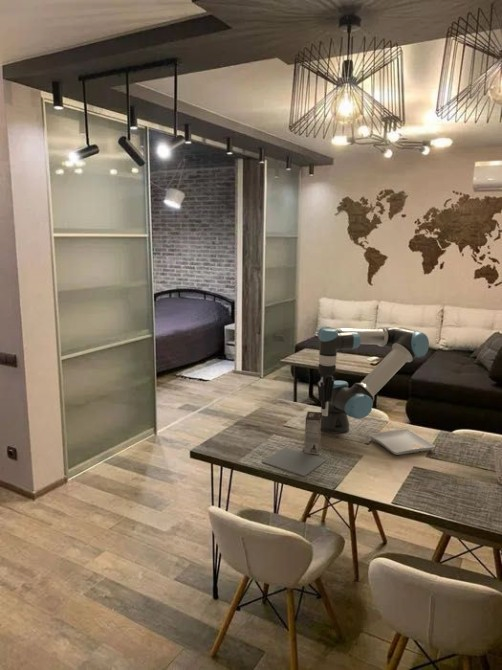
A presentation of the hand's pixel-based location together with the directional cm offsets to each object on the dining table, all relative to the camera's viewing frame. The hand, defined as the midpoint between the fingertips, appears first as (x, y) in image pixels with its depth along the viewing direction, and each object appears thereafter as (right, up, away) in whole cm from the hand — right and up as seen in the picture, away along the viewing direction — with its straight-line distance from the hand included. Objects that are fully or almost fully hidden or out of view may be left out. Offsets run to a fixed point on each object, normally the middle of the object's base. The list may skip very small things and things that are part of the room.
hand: (324, 415), depth 224 cm
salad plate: (+35, -14, +1) cm, 37 cm away
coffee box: (-6, -15, -5) cm, 17 cm away
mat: (-15, -16, -17) cm, 28 cm away
